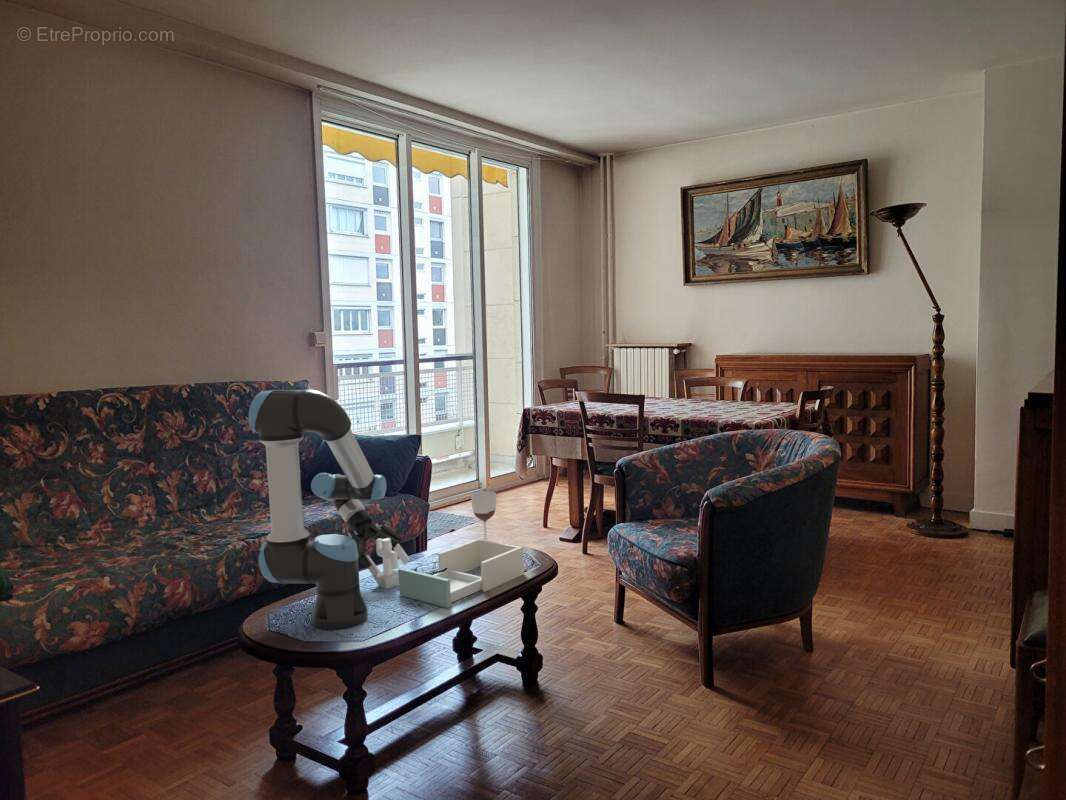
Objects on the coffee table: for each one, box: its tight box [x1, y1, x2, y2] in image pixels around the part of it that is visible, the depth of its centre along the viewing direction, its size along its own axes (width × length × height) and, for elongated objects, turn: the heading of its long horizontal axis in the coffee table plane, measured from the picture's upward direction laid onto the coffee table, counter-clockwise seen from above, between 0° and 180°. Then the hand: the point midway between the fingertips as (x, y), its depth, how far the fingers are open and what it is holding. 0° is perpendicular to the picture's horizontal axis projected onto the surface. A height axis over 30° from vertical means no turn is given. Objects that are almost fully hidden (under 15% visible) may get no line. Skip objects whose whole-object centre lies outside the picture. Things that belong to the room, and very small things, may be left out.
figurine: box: [371, 538, 399, 589], centre depth 243 cm, size 7×9×15 cm
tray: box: [397, 567, 482, 609], centre depth 235 cm, size 19×20×8 cm
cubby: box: [437, 538, 525, 593], centre depth 248 cm, size 19×19×9 cm
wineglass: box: [470, 490, 497, 541], centre depth 271 cm, size 9×10×22 cm
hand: (392, 568), depth 242 cm, fingers open, 13 cm apart
